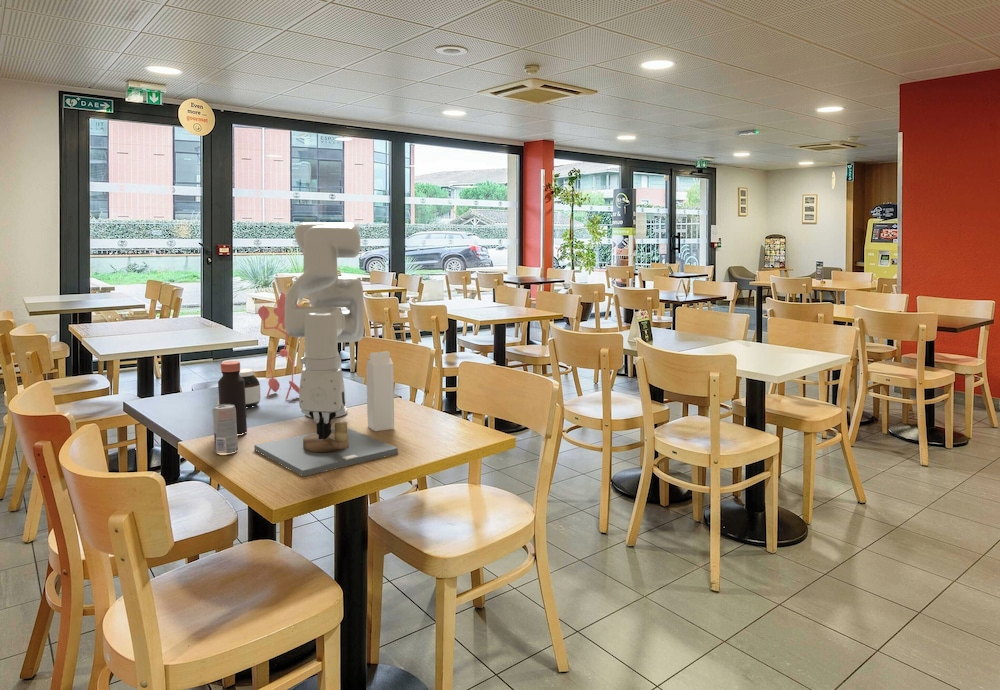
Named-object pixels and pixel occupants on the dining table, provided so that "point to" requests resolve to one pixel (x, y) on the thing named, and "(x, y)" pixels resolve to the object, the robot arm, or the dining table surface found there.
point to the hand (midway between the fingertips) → (324, 437)
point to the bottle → (233, 392)
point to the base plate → (324, 453)
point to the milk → (380, 391)
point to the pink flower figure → (280, 313)
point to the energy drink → (225, 428)
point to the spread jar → (250, 387)
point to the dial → (328, 440)
